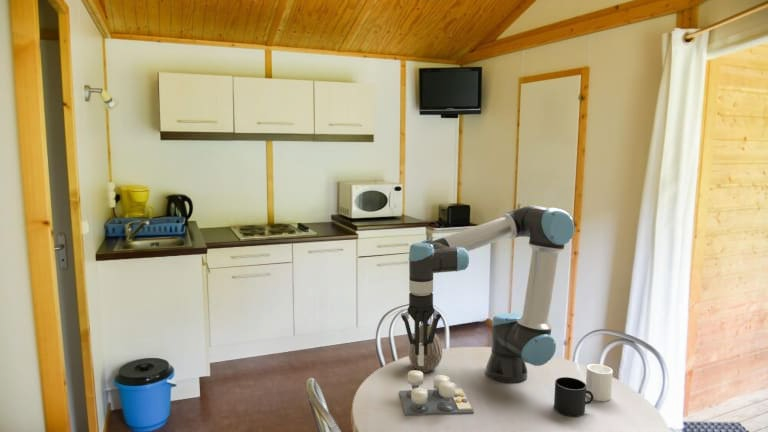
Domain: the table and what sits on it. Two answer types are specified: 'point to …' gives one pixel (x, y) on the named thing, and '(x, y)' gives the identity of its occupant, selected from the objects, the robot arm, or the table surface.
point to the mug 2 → (599, 382)
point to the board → (436, 404)
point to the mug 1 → (570, 396)
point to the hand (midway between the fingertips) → (420, 364)
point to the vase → (432, 352)
